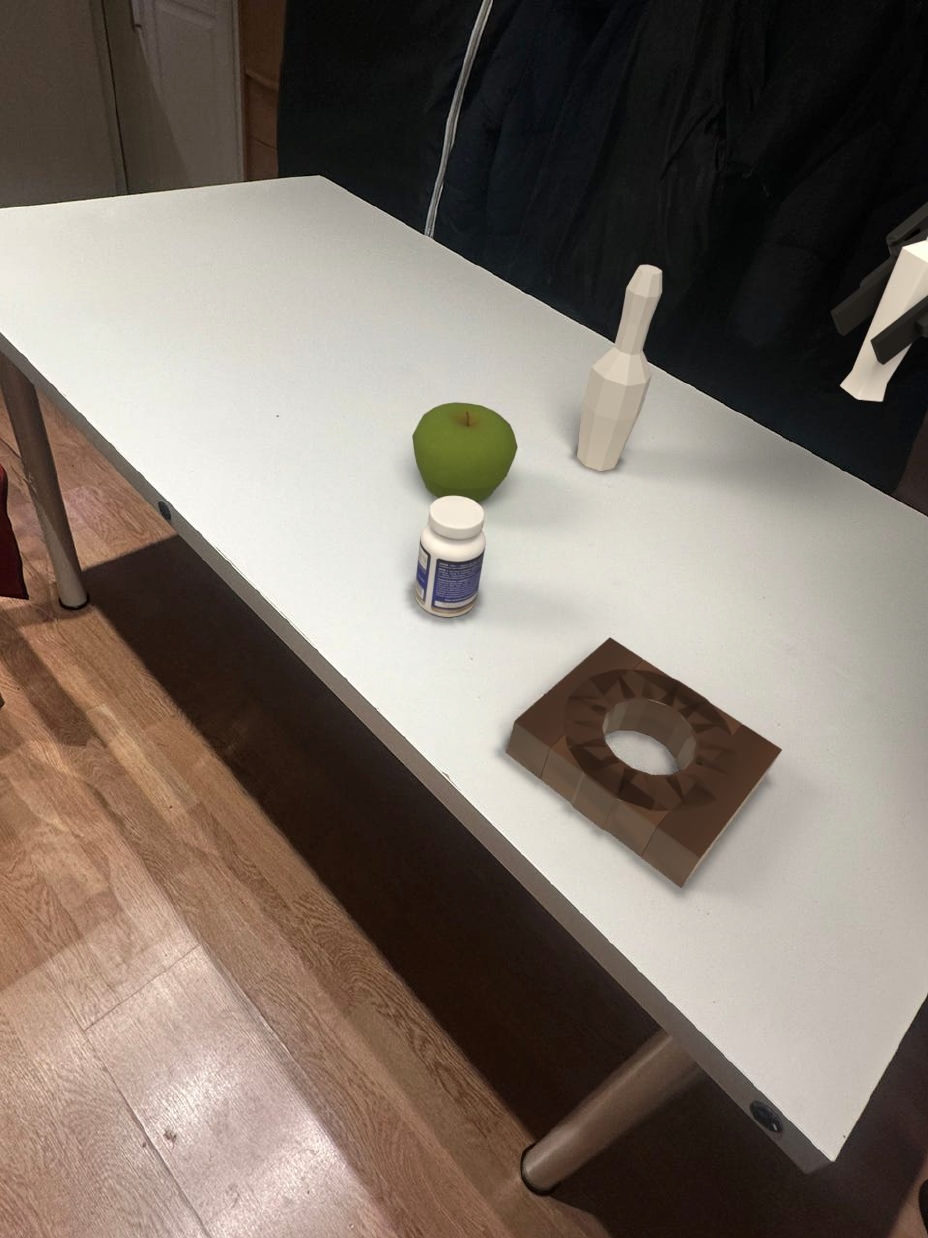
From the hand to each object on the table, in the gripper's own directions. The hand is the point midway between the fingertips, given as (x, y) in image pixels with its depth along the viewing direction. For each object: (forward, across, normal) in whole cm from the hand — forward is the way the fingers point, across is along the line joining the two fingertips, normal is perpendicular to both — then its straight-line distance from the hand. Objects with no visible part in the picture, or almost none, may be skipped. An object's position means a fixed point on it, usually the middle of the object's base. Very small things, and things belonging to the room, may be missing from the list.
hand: (857, 337), depth 70 cm
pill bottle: (+41, 0, +7) cm, 42 cm away
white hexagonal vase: (+1, 0, -6) cm, 7 cm away
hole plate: (+35, -21, +1) cm, 41 cm away
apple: (+37, +15, +3) cm, 40 cm away
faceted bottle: (+24, +19, -10) cm, 32 cm away
